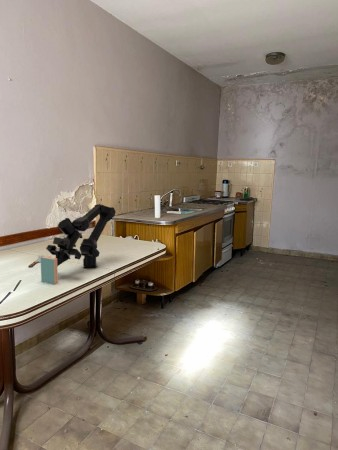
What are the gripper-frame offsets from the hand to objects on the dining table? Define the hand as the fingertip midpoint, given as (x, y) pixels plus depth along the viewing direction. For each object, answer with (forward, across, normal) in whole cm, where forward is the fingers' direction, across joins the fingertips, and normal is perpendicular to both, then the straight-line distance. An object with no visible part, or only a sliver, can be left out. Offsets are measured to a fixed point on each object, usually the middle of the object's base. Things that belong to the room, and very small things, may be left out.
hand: (55, 266), depth 158 cm
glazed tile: (+8, 0, +2) cm, 8 cm away
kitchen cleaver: (-9, -31, +19) cm, 38 cm away
